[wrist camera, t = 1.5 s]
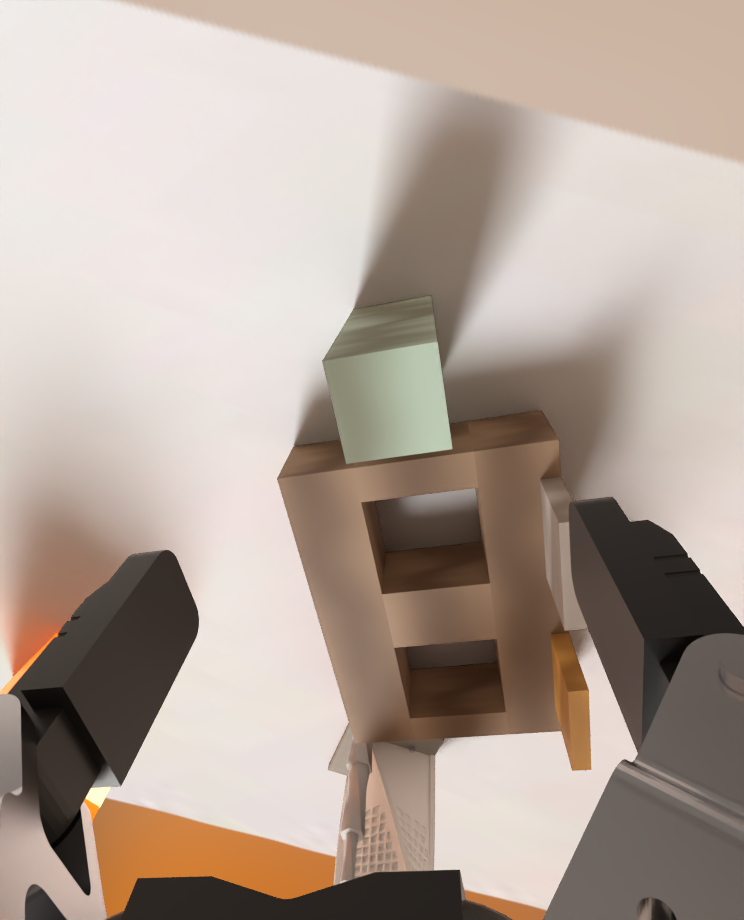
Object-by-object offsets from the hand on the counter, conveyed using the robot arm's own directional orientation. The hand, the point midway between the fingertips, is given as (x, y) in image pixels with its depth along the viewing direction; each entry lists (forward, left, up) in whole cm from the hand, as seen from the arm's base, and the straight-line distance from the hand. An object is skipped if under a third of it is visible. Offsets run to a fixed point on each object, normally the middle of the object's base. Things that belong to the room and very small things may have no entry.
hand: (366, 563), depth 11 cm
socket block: (0, +15, -19) cm, 25 cm away
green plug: (0, 0, -19) cm, 19 cm away
